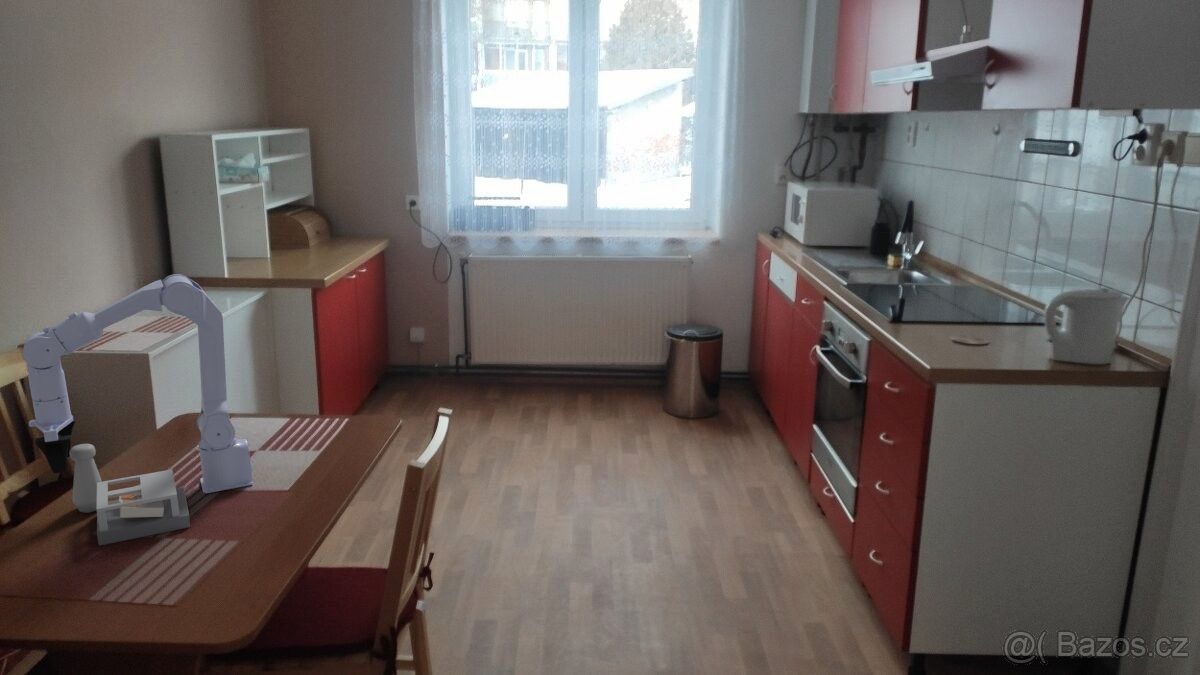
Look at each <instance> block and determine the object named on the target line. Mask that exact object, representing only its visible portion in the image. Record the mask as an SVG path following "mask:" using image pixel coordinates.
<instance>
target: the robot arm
mask: <svg viewBox="0 0 1200 675" xmlns="http://www.w3.org/2000/svg"><path fill="white" fill-rule="evenodd" d="M162 306H164V307H165V309H167V310H168V311H169V312H171V313H174V314H175V315H178V316H179V315H180V316H182V317H185V318H187V319H188V320H190V321H191V322H193V323H194V324H195V325H197V336H198V338H197V339H198V353H199V354H198V356H199V368H200V370H199V372H200V373H199V374H200V375H199V376H200V388H201V389H200V391H201V393H200V394H201V401H200V406H201V408H200V413H199V414H198V417H197V420H196V425H197V427H198V430H199V432H200V437H201V439H200V440H199V442H198V450H199V457H200V466H201V467H200V468H201V473H202V474H201V475H202V477H201V478H199V482H200V484H201V488H202V493H203V494H205V495H206V494H211V493H217V492H220V491H225V490H226V491H228V490H231V489H237V488H242V487H247V486H253V484H254V482H253V474H252V473H253V468H252V464H251V456H250V449H249V444H248V441H247V439H246V438H241V439H240V438H239V439H238V438H237V436H236V429H235V426H234V425H233V423H232V421H231V419H230V411H229V405H228V404H229V403H228V399H227V398H228V396H227V380H226V379H227V377H226V376H227V375H226V374H227V373H226V358H225V355H226V354H225V353H226V352H225V338H224V320H223V319H224V318H223V313H222V312H221V310H220V309H219V306H217V305H216V304H215V303H214V301H213V300H212V298H210V297H209V295H208V294H207V292H205V291H204V289H203V288H202V287H201V286H200V284H199V283H197V282H196V281H194V280H193V279H191V278H189V277H188V276H186V275H184V274H180V273H177V274H175V273H174V274H171V275H168V276H166V277H165V278H164V279H158V280H155V281H153V282H151V283H149V284H146V285H145V286H142V287H140V288H138V289H136V290H135V291H133V292H132V293H129V294H128V295H126V296H124V297H122V298H120V299H119V300H117V301H115V302H113V303H111V304H110V305H108V306H106V307H104V308H102V309H100V310H99V311H96V312H95V313H92V312H88V311H81V312H79V313H77V312H76V311H73V312H71V313H69V314H68V318H67V319H65V320H63V321H61V322H58V323H56V324H54V325H53V326H51V327H50V326H49V325H46V326H44V327H43V328H42V332H41V331H38V332H35V333H32V334H30V335H29V336H28V337H27V338H26V340H25V342H24V344H23V347H22V357H23V360H24V361H25V363H26V364H27V366H26V369H27V373H28V376H27V378H28V379H27V380H28V384H29V389H30V390H29V391H30V397H31V399H32V405H33V407H32V408H33V412H34V417H35V418H34V419H32V420H29V421H28V426H29V427H30V428H33V427H34V428H35V427H36V428H37V429H38V430H39V431H41V432H42V433H43V436H42V437H36V438H35V440H34V441H35V442H34V443H35V446H36V447H37V448H39V449H40V451H41V453H43V455H44V457H45V458H46V461H47V463H48V465H49V467H50V469H51V471H52V472H53V474H57V473H59V474H60V473H65V472H67V468H68V458H71V457H70V454H69V453H70V450H71V448H72V434H73V433H72V432H73V428H74V426H75V423H76V418H75V417H74V416H73V415H72V412H71V406H70V399H69V398H70V397H69V394H68V388H67V381H66V375H65V371H64V369H63V367H62V366H63V365H62V362H61V361H62V360H61V356H64V355H65V356H66V355H70V354H72V353H73V352H76V351H77V350H79V349H81V348H83V347H86V346H88V345H90V344H91V343H93V342H95V341H97V340H99V339H102V335H103V331H104V330H105V328H108V327H110V326H113V325H114V324H117V323H119V322H121V321H124V320H126V319H127V318H130V317H132V316H135V315H137V314H139V313H141V312H142V311H145V310H146V311H155V312H163V308H162Z"/></svg>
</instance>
